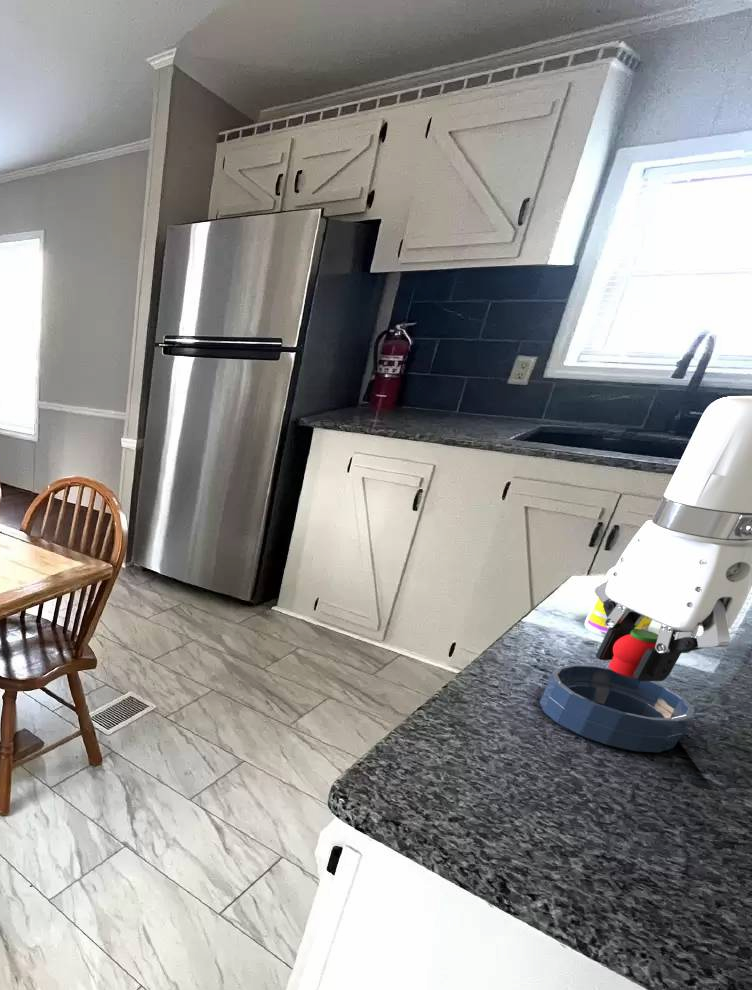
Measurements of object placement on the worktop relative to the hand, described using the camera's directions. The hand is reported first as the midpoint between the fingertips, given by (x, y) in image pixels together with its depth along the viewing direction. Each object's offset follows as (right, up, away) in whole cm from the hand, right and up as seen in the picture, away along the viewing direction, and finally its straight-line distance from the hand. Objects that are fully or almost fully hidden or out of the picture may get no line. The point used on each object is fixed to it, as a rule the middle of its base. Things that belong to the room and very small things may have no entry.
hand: (629, 667), depth 74 cm
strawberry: (0, 0, 0) cm, 0 cm away
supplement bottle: (+23, +3, +24) cm, 33 cm away
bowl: (0, -7, +3) cm, 8 cm away
